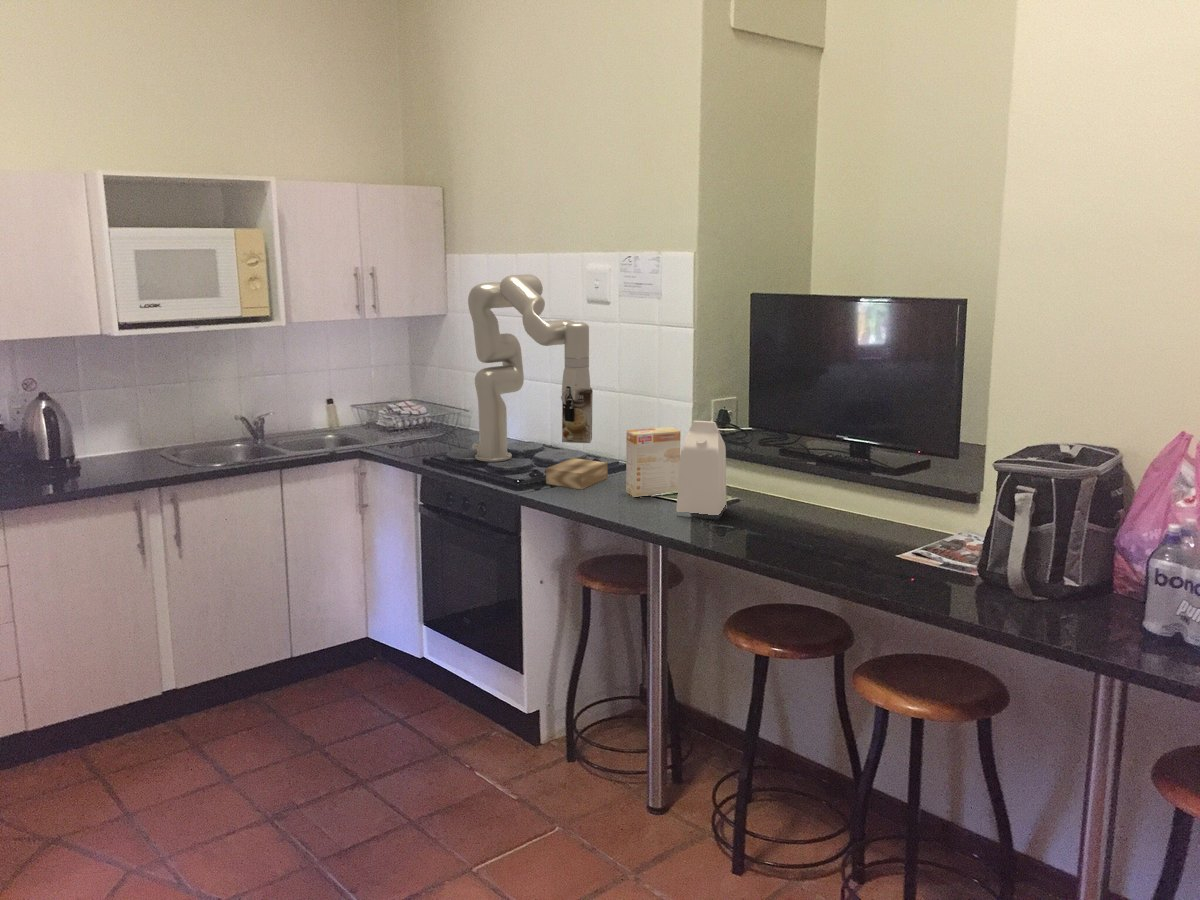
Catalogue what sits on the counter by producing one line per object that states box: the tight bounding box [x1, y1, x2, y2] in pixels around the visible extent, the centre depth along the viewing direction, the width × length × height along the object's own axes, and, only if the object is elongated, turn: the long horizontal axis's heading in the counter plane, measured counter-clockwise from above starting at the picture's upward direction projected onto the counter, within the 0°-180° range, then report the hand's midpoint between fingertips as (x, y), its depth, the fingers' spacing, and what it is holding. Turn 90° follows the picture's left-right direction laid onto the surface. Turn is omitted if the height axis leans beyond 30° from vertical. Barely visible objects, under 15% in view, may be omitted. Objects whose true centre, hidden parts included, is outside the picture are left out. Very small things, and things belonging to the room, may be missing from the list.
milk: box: [675, 420, 727, 515], centre depth 268 cm, size 12×12×26 cm
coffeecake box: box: [625, 426, 681, 498], centre depth 288 cm, size 15×7×20 cm, turn 109°
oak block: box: [545, 457, 609, 490], centre depth 304 cm, size 13×16×5 cm
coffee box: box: [561, 388, 594, 444], centre depth 300 cm, size 9×6×16 cm
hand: (577, 418), depth 300 cm, fingers closed on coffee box, 8 cm apart
